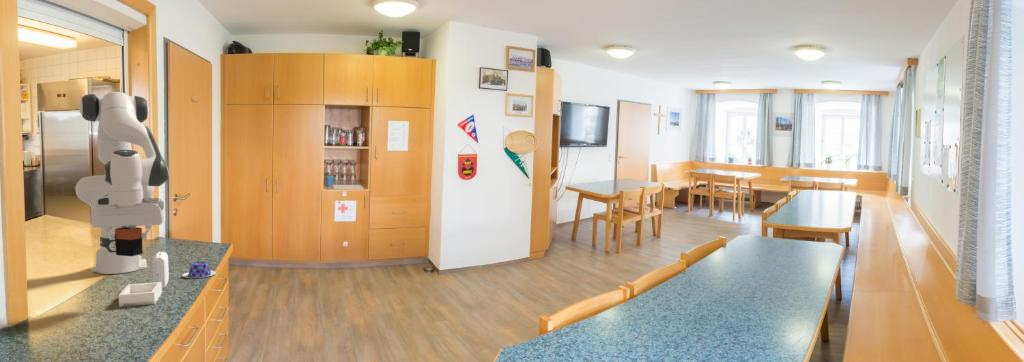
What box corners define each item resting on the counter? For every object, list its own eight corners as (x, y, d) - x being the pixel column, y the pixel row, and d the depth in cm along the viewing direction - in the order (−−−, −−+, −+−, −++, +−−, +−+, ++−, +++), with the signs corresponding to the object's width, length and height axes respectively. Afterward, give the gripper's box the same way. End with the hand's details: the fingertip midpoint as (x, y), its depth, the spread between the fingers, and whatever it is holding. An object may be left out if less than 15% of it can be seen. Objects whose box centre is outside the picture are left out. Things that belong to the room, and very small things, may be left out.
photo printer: (165, 287, 201) (164, 255, 200) (152, 289, 200) (151, 256, 198) (169, 280, 211) (169, 249, 210) (156, 281, 209) (155, 249, 208)
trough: (128, 295, 192) (128, 284, 191) (161, 292, 196) (161, 281, 195) (119, 307, 180) (118, 295, 179) (154, 303, 184) (154, 292, 183)
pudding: (183, 281, 211) (183, 268, 211) (180, 274, 221) (180, 261, 220) (218, 277, 218) (218, 264, 218) (214, 270, 228) (213, 258, 227)
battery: (132, 256, 182) (131, 227, 181) (115, 255, 183) (113, 226, 182) (143, 254, 186) (142, 225, 185) (126, 252, 188) (125, 223, 187)
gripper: (165, 196, 190) (166, 235, 191) (93, 197, 182) (95, 238, 183) (161, 198, 184) (163, 239, 186) (87, 200, 176) (89, 242, 178)
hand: (128, 239), depth 184 cm, fingers closed on battery, 8 cm apart
